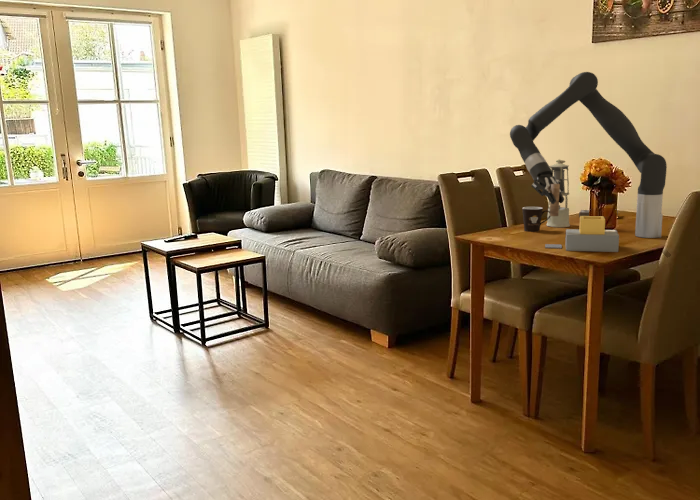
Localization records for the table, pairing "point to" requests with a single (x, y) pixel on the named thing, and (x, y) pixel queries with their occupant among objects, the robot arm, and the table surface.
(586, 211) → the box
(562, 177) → the lamp
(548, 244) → the rest pad
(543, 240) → the table surface
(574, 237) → the grey base plinth
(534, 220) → the coffee mug
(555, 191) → the brown wooden cylinder
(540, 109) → the robot arm
